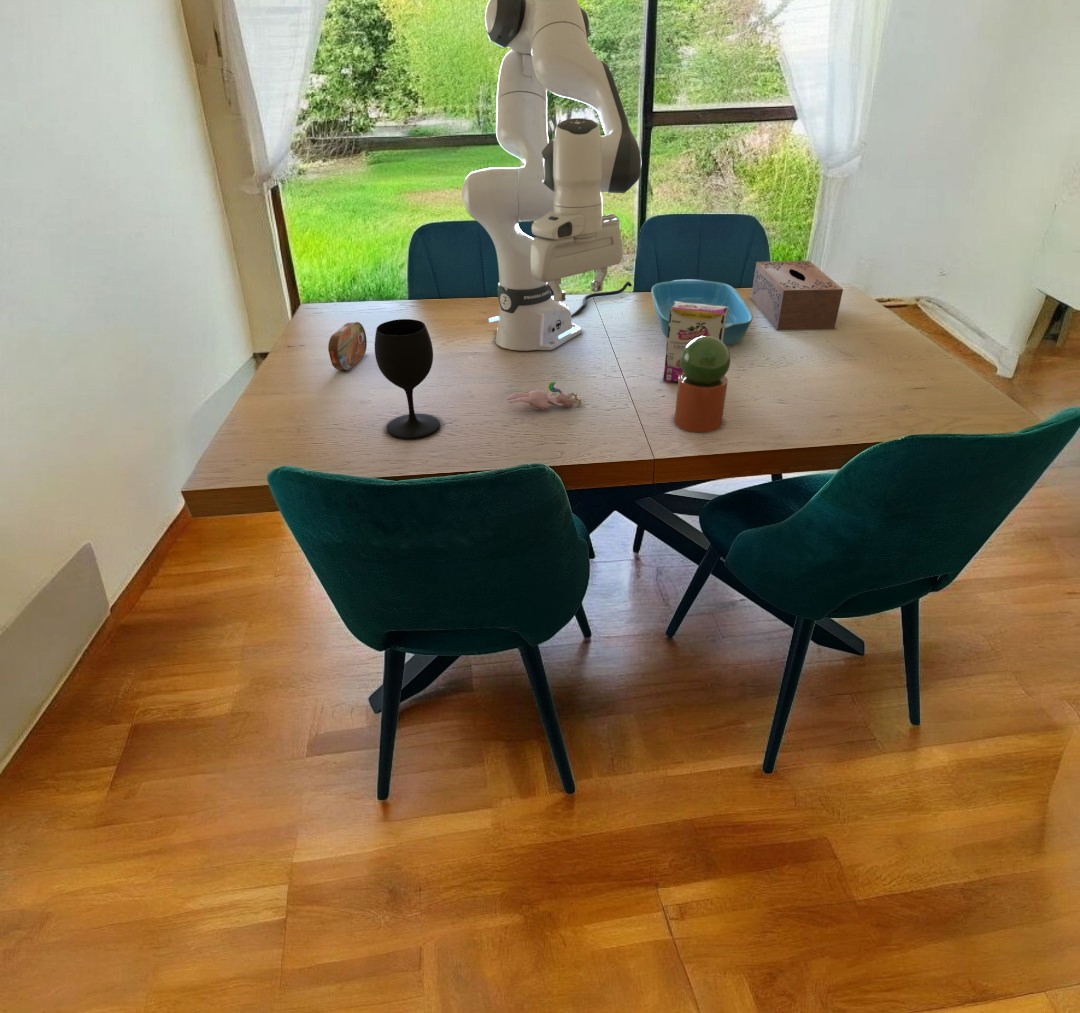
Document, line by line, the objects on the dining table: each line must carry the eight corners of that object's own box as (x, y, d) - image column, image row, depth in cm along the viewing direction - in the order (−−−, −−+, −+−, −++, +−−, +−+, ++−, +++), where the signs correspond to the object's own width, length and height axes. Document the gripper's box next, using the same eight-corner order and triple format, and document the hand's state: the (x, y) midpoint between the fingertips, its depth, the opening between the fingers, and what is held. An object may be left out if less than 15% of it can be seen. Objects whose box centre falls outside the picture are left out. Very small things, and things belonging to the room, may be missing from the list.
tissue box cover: (751, 298, 202) (756, 261, 196) (802, 297, 202) (809, 260, 196) (777, 330, 180) (783, 290, 175) (834, 329, 180) (843, 289, 175)
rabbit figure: (572, 403, 150) (502, 402, 145) (576, 376, 147) (506, 374, 142) (582, 416, 145) (510, 415, 140) (587, 388, 142) (514, 387, 137)
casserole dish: (758, 354, 167) (762, 324, 163) (662, 355, 168) (664, 325, 164) (725, 304, 198) (729, 277, 194) (644, 305, 198) (646, 278, 195)
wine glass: (388, 416, 143) (374, 318, 132) (441, 413, 144) (431, 316, 133) (384, 441, 135) (368, 338, 124) (439, 438, 135) (429, 336, 124)
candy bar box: (662, 382, 155) (668, 307, 146) (666, 373, 159) (673, 300, 150) (715, 389, 152) (725, 312, 143) (718, 379, 156) (728, 305, 147)
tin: (343, 376, 160) (336, 340, 156) (330, 375, 161) (323, 339, 156) (369, 351, 173) (364, 317, 168) (357, 350, 173) (351, 316, 169)
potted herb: (691, 407, 145) (700, 325, 135) (730, 421, 139) (743, 336, 130) (665, 422, 139) (672, 338, 130) (704, 437, 134) (715, 350, 125)
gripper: (608, 210, 139) (606, 282, 146) (523, 226, 128) (527, 303, 136) (631, 214, 134) (628, 288, 142) (546, 231, 124) (548, 310, 131)
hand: (578, 296), depth 139 cm, fingers open, 8 cm apart
